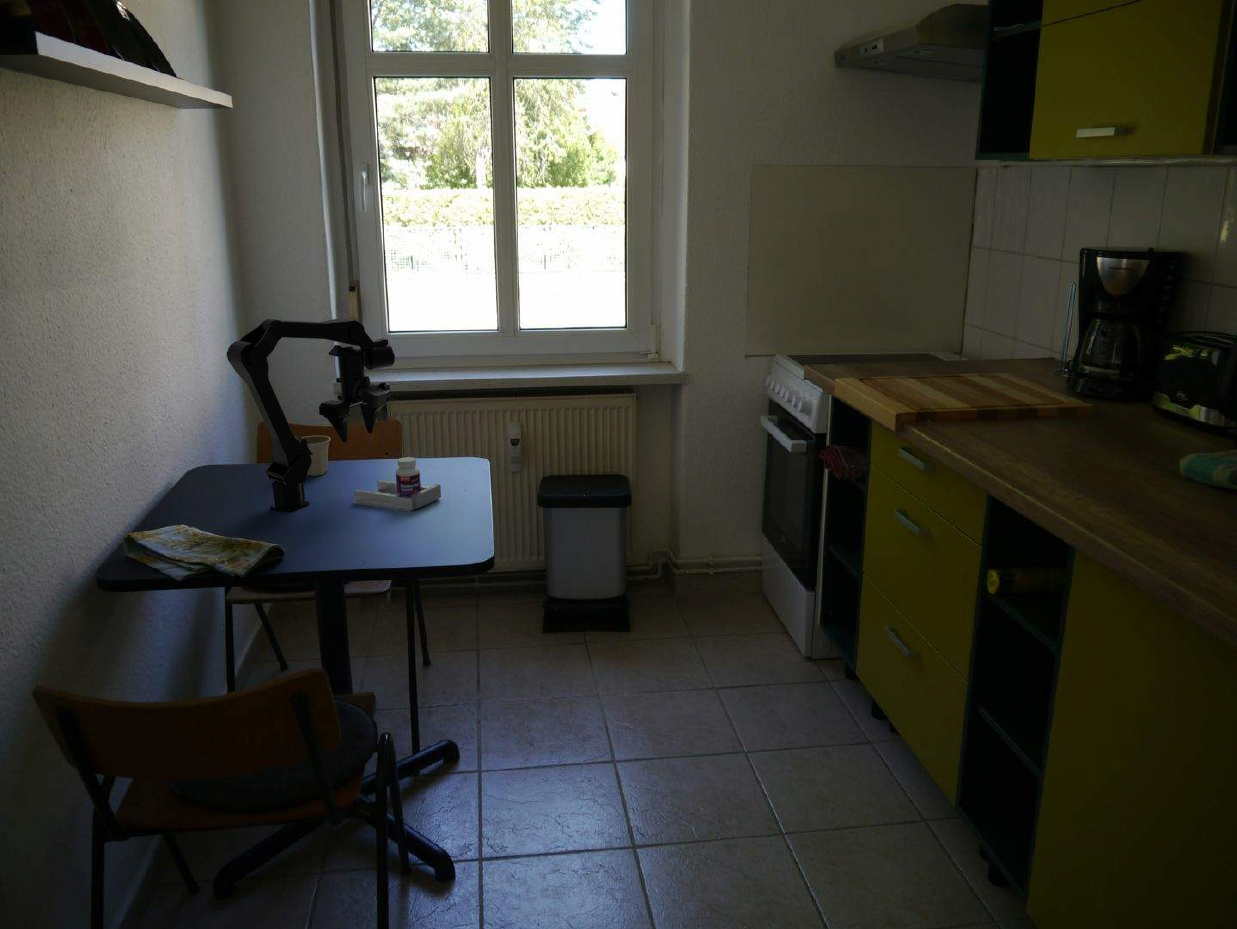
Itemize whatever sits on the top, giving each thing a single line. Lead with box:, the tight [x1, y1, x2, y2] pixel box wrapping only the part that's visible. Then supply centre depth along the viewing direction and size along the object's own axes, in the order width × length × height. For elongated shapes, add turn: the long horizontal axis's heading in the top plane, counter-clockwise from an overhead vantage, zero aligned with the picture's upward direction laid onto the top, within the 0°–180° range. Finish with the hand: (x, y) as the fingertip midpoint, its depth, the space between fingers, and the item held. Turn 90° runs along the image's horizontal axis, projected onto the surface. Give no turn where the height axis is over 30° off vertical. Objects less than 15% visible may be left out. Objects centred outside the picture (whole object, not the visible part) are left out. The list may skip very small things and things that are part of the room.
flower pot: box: [301, 435, 331, 477], centre depth 260 cm, size 9×9×9 cm
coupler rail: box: [352, 479, 442, 513], centre depth 237 cm, size 11×17×4 cm, turn 64°
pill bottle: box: [395, 456, 422, 497], centre depth 235 cm, size 5×5×10 cm
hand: (357, 437), depth 245 cm, fingers open, 9 cm apart
